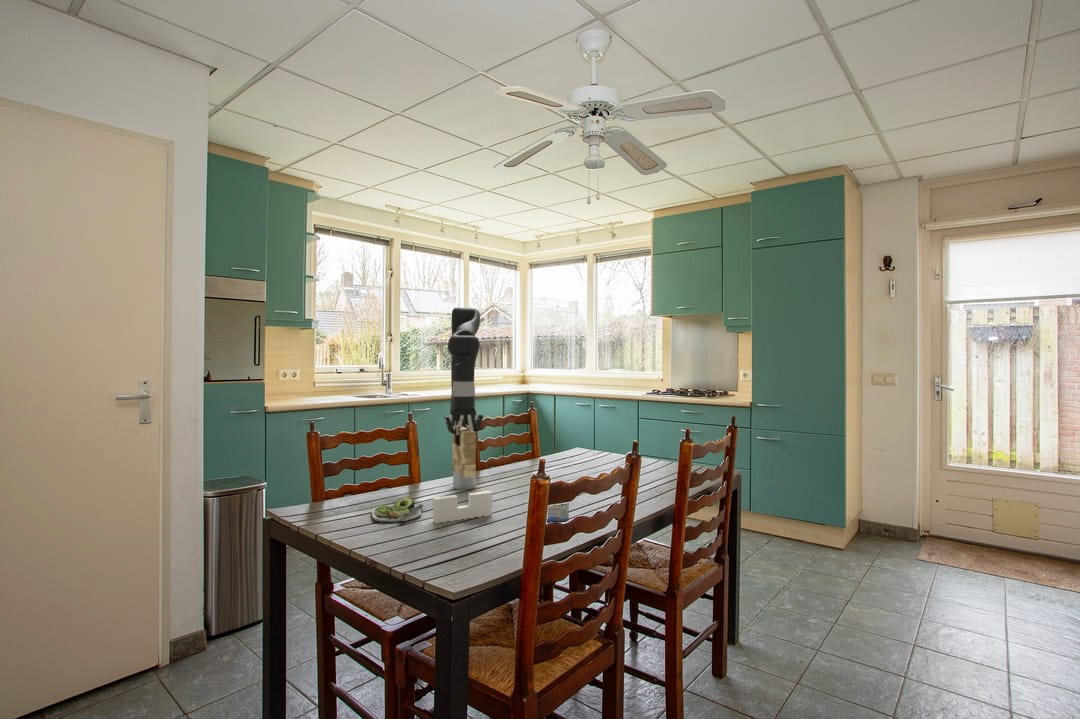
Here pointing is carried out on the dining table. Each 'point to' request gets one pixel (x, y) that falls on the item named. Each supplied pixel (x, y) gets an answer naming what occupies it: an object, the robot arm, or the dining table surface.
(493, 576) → the dining table surface
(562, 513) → the medicine box
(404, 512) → the salad plate
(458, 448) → the tan thick flat block
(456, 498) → the slotted board
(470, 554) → the dining table surface
